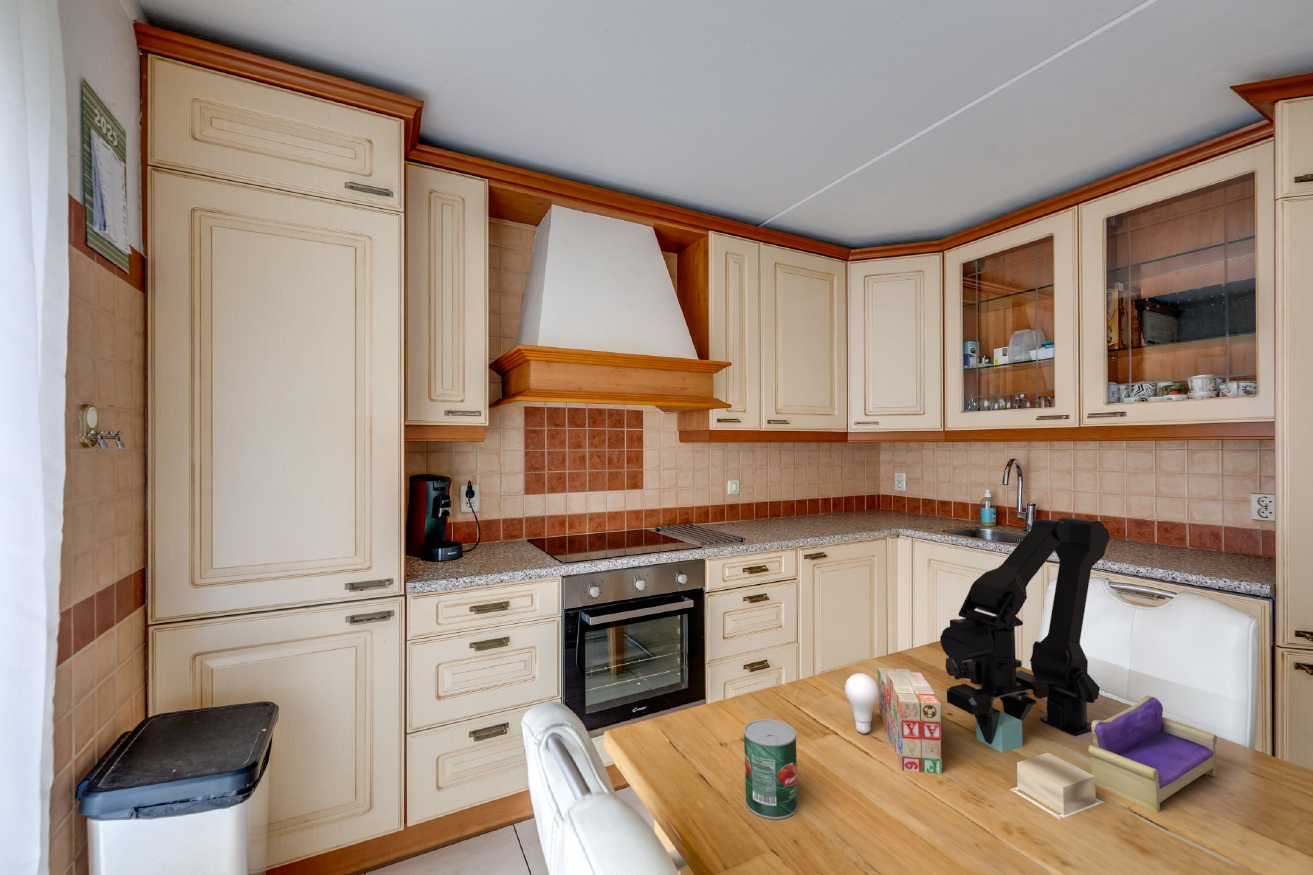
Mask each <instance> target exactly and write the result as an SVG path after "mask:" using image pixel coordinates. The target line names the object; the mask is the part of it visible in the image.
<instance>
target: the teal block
mask: <svg viewBox="0 0 1313 875" xmlns="http://www.w3.org/2000/svg"><path fill="white" fill-rule="evenodd" d="M996 709H997V708H996ZM997 710H999V711H1001V712H1000V716H999V720H998V724H997V728H996V732H995V736H994V739H993V742H992V744H989V743H987V742H986V741H985V740H984V737H983V735H982V732H981V730H980V727H979V725H978V722H977V720H976V719H975V722H976V724H975V726H976V727H975V728H976V740H978V741H980V742H981V743H983V744H985V745H987V746H988V747H991V748H992V749H994V750H996V751H998V752H1000V753H1001V754H1002V753H1008V752H1010V751H1014V750H1016V749H1019V748H1022V747H1023V744H1024V743H1023V722H1022V721H1021V720H1019V719H1017V718H1015V717H1013V716H1011V715H1008V714H1006V713H1004V711H1002V710H1000V709H997Z"/></svg>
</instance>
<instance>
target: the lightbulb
mask: <svg viewBox="0 0 1313 875" xmlns="http://www.w3.org/2000/svg"><path fill="white" fill-rule="evenodd" d="M844 691H845V696H846V698H847V699H848V702H849V703H850V706H851V708H852V711H853V718H854V719H855V728H856V730H857V731H858V732H860V734H863V735H865V734H867V733H869V732H871V722H872V719H873V711H874V709H875V707H876V705H877V703H878V701H879V695H880V692H879V684H878V682H876V680H875V679H874V678H873V677H871V676H870V675H869V674H866V673H863V672H857V673H854V674H852V675H850V676H849V677H848V678H847V680H846V682H845V685H844Z"/></svg>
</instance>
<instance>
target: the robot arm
mask: <svg viewBox="0 0 1313 875" xmlns="http://www.w3.org/2000/svg"><path fill="white" fill-rule="evenodd" d="M1110 536H1111V535H1110V531H1109V529H1108V528H1107V527H1105V525H1104V523H1103V522H1102V521H1100V520H1096V519H1095V520H1094V519H1085V518H1075V517H1067V516H1064V517H1061V518H1060V519H1059V520H1058V519H1049V518H1039V519H1036V520H1033V522H1032V524H1031V529H1030V530H1029V531H1028V533H1027V534H1026V535H1025V536H1024V537H1023V538H1022V539H1021V541H1020V542H1019V543H1018V544H1017V546H1016V547H1015V548H1014V549H1013V550H1012V551H1011V553H1010V554H1009V555H1008V557H1007V558H1006V559H1005V560H1004V561H1003V563H1002V564H1000V565H999V566H998V567H997V568H994V569H991V570H988V571H985V572H984V573H983V574H981V575H980V576H979V577H977V579H975V581H973V582H972V584H971V586H970V587H969V588H970V589H969V591H968V593H967V595H966V597H965V598H964V601H963V603H962V605H961V606H960V609H959V611H958V617H961V618H960V619H958V618H953V619H950V620H949V626H948V627H946V628H944V629H943V631H942V632H941V635H940V637H939V640H940V645H941V648H942V650H943V652H944V654H945V655H946V656H947V657H946V658H945V670H946V673H947V675H948V676H949V677H954V680H957V681H958V680H960V679H961V680H962V679H967V680H970V681H969V682H970V683H972V684H974V685H979V686H980V687H979V688H975V687H973V686H971V685H968V684H966V683H961V684H957V685H953V686H950V687H949V688H947V689H946V702H947V703H948V704H950V705H952V706H954V707H956V708H958V709H961V710H962V711H964V712H966V713H968V714H969V715H972V716H974V717H975V721H976V720H977V722H978V725H979V727H980V730H981V732H982V735H983V737H984V740H985V741H986V742H987V743H989V744H992V742H993V739H994V736H995V732H996V728H997V724H998V720H999V716H1000V712H1001V711H1002V710H1000V709H998V710H997V708H995V703H994V702H995V700H997V699H1000V700H1001V703H1002V707H1003V708H1002V709H1003V711H1002V712H1004V713H1006V714H1008V715H1011V716H1013V717H1015V718H1017V719H1019V720H1021V721H1022V723H1023V721H1024V720H1025V719H1026V717H1027V716H1028V714H1029V712H1030V711H1031V710H1032V708H1033V706H1035V705H1037V700H1036V699H1038V700H1040V699H1041V700H1042V699H1045V698H1046V715H1044V716H1040V717H1039V721H1041V722H1043V723H1045V724H1047V725H1049V726H1051V727H1054V728H1056V729H1058V730H1060V731H1062V732H1065V733H1067V734H1069V735H1072V736H1077V735H1080V734H1083V733H1087V732H1090V731H1091V732H1092V730H1091V724H1092V723H1090V722H1088V717H1087V716H1088V714H1087V713H1088V712H1087V710H1088V708H1087V703H1089V704H1090V703H1091V704H1095V703H1096V700H1098V699H1099V695H1100V690H1101V689H1100V686H1099V685H1098V683H1096V681H1095V680H1094V679H1093V678H1092V677H1091V676H1090V674H1089V673H1088V669H1089V668H1088V665H1089V662H1088V658H1087V656H1086V654H1085V652H1084V650H1083V648H1082V646H1081V637H1082V630H1083V624H1084V619H1085V618H1084V617H1085V613H1086V612H1085V610H1086V605H1087V598H1088V597H1087V596H1088V593H1089V592H1088V591H1089V586H1090V581H1091V580H1090V579H1091V574H1092V573H1091V571H1092V568H1093V567H1094V566H1095V565H1096V564H1097V563H1098V562H1100V560H1101V559H1102V558H1103V557H1104V556H1105V553H1106V550H1107V546H1108V543H1109V541H1110ZM1054 552H1055V554H1056V556H1057V558H1058V560H1059V566H1058V570H1057V577H1056V581H1055V589H1054V595H1053V602H1052V606H1051V607H1052V608H1051V615H1050V621H1049V625H1048V626H1049V627H1048V631H1047V632H1048V633H1047V635H1046V636H1045V637H1044V638H1043V639H1042V640H1041V641H1037V640H1036V641H1034V643H1032V653H1031V657H1030V659H1029V662H1030V668H1031V672H1032V674H1031V673H1029V672H1026V671H1023V670H1017V668H1022V665H1023V664H1022V660H1020V659H1017V657H1016V655H1017V654H1016V627H1020V626H1023V625H1024V622H1023V620H1021V619H1020V618H1019V617H1018V616H1017V615H1018V614H1019V612H1020V611H1021V609H1022V607H1023V606H1024V604H1025V602H1026V600H1027V598H1028V594H1027V586H1028V584H1029V583H1030V581H1032V580H1033V578H1034V576H1036V574H1037V573H1038V572H1039V571H1040V569H1041V568H1042V566H1043V565H1044V564H1045V563H1046V562H1047V561H1048V559H1049V558H1050V556H1051V555H1052V554H1053V553H1054ZM976 609H977V610H976ZM978 610H979V611H978ZM991 614H992V615H991ZM1029 690H1031V691H1032V695H1033V696H1034V698H1032V697H1030V693H1029V692H1028V691H1029ZM1035 698H1036V699H1035ZM999 710H1000V711H999Z"/></svg>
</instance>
